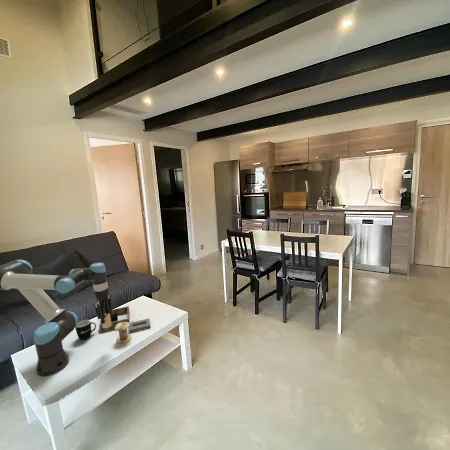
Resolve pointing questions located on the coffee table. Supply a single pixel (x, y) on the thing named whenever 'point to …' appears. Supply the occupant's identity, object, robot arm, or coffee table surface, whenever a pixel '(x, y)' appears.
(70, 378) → the coffee table surface
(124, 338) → the wooden spool
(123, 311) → the caddy
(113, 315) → the film camera
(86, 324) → the mug
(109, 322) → the block
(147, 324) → the board
